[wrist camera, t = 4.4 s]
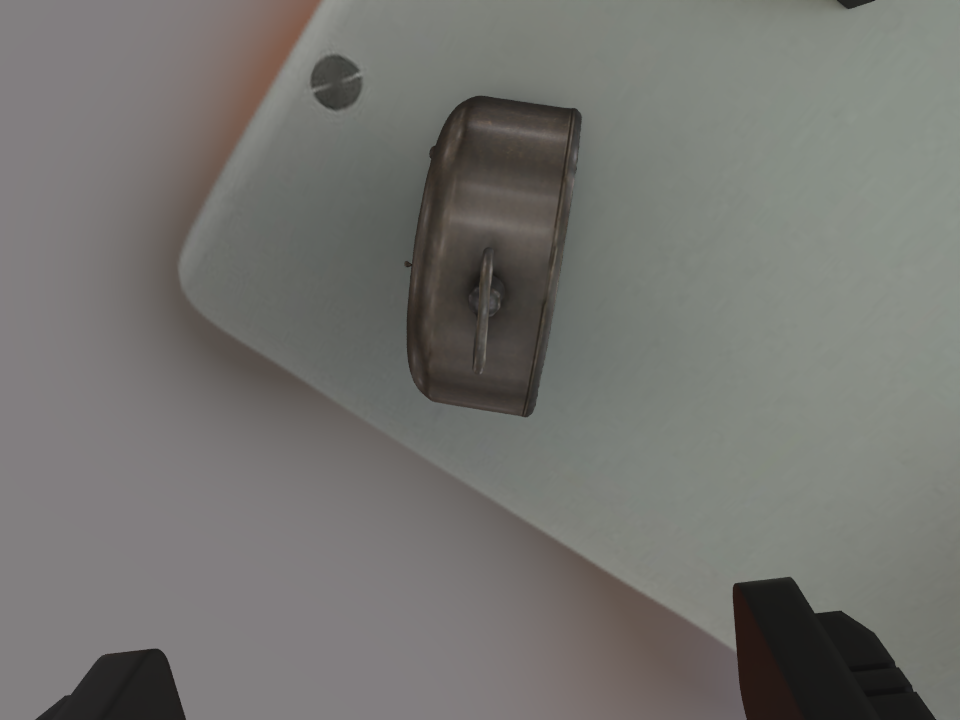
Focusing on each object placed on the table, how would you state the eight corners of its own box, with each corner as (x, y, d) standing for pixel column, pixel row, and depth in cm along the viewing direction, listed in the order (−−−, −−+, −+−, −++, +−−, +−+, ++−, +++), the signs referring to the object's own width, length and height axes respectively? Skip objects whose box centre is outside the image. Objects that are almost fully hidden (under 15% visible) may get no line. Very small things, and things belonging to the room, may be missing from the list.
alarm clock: (534, 360, 37) (552, 535, 22) (416, 343, 37) (350, 505, 22) (575, 111, 34) (633, 106, 19) (447, 92, 34) (397, 71, 18)
